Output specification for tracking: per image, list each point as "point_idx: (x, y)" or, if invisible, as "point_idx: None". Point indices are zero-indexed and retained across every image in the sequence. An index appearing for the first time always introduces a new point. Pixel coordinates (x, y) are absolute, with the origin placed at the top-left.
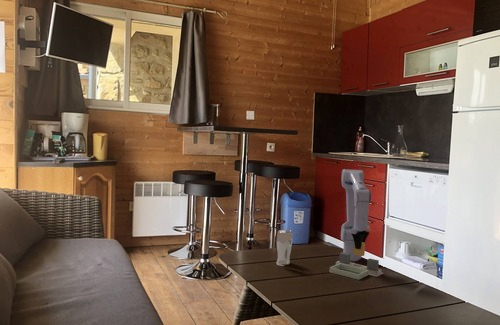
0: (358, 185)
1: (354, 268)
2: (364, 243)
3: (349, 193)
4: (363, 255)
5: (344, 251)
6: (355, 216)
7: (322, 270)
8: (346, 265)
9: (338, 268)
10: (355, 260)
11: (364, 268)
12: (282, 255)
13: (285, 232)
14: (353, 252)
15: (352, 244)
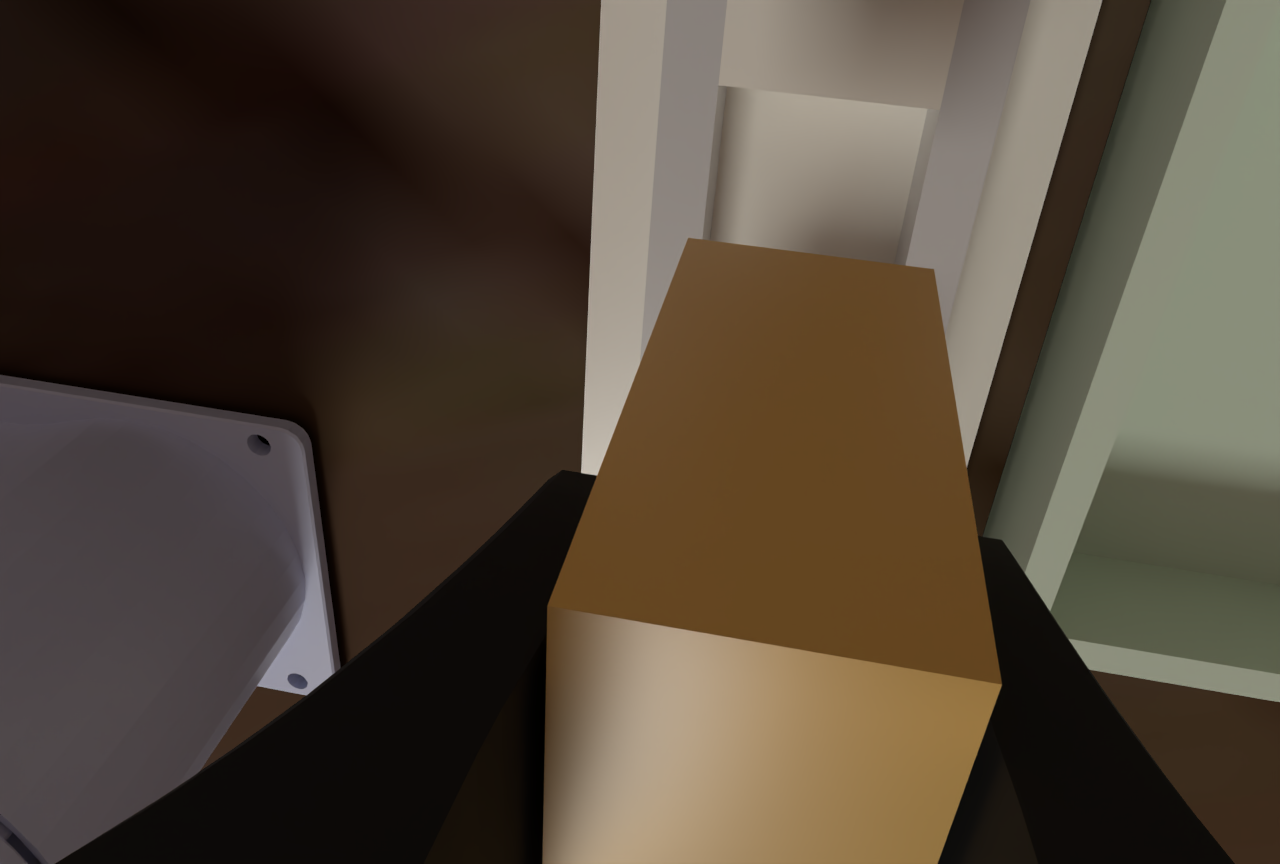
0: None
1: (1170, 260)
2: (689, 599)
3: None
4: (788, 252)
5: (199, 770)
6: None
7: (1215, 765)
8: (1090, 495)
9: (1117, 583)
10: (183, 461)
11: (977, 7)
12: None
13: None
14: (125, 621)
15: (10, 818)
